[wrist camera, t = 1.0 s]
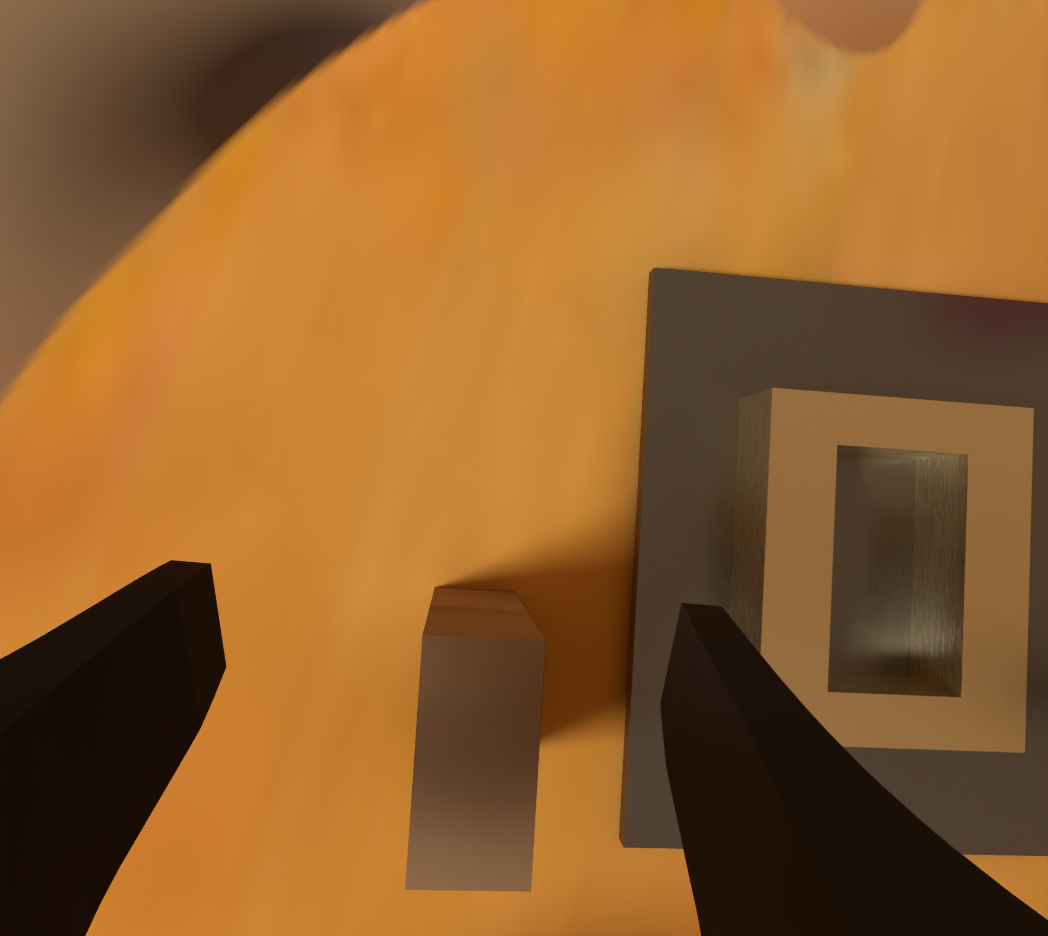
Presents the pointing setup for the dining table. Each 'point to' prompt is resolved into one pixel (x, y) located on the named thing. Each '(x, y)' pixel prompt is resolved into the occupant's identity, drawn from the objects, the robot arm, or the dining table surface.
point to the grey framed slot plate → (854, 534)
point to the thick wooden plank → (476, 744)
